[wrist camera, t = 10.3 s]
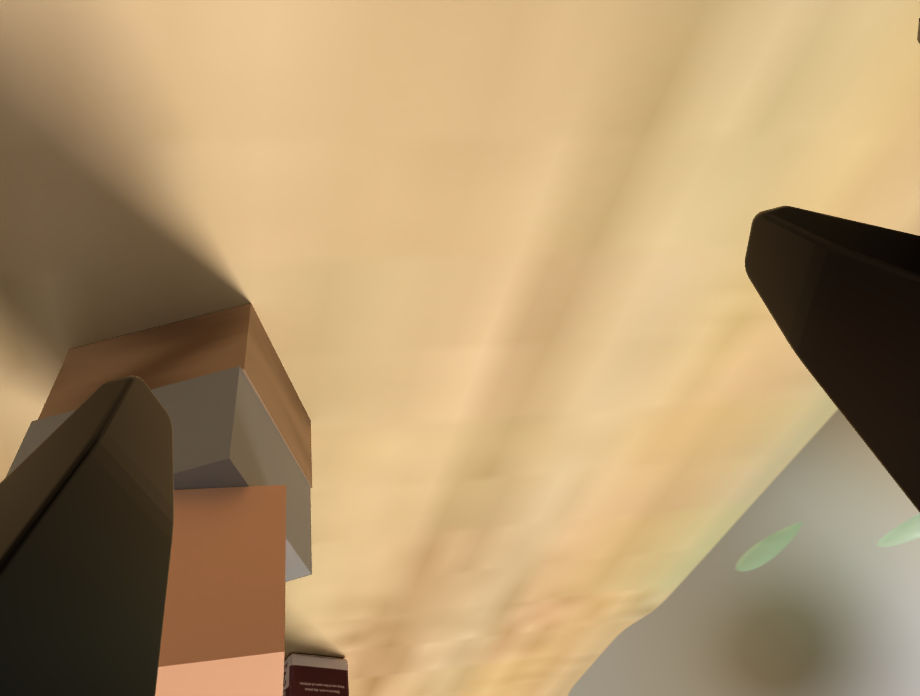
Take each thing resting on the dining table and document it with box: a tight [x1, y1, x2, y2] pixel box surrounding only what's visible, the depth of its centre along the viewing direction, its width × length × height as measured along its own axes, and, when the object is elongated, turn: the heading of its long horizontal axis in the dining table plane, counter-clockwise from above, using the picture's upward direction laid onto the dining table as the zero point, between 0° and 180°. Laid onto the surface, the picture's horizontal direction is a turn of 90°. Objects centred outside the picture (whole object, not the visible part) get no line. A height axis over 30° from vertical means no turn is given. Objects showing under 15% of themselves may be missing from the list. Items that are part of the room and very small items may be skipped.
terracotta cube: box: [155, 485, 286, 696], centre depth 17 cm, size 5×5×5 cm
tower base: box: [38, 303, 312, 488], centre depth 23 cm, size 7×7×4 cm
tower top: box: [6, 366, 312, 582], centre depth 20 cm, size 7×7×4 cm
